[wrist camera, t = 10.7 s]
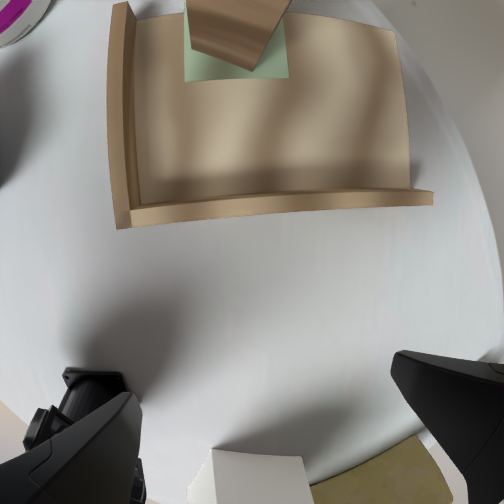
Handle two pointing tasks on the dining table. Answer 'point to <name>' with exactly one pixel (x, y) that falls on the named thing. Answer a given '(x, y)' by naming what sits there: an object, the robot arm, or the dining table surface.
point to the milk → (249, 480)
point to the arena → (254, 122)
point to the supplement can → (19, 18)
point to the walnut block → (234, 28)
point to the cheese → (389, 479)
